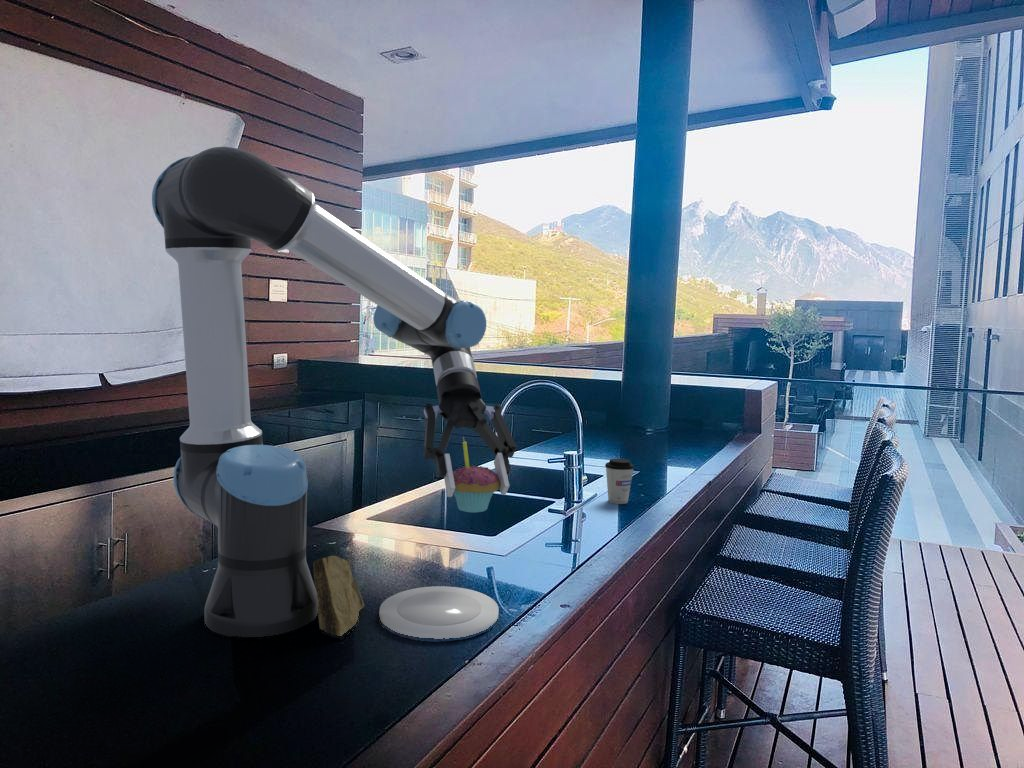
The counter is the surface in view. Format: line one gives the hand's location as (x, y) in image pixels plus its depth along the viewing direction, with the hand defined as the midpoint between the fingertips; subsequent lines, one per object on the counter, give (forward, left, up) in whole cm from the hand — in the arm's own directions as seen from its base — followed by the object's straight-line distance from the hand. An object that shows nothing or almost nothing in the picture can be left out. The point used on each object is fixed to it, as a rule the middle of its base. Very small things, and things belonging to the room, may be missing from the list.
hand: (478, 491), depth 118 cm
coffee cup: (+48, +43, -15) cm, 67 cm away
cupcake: (0, +3, -4) cm, 5 cm away
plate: (-9, -12, -15) cm, 21 cm away
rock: (-22, -10, -15) cm, 29 cm away
